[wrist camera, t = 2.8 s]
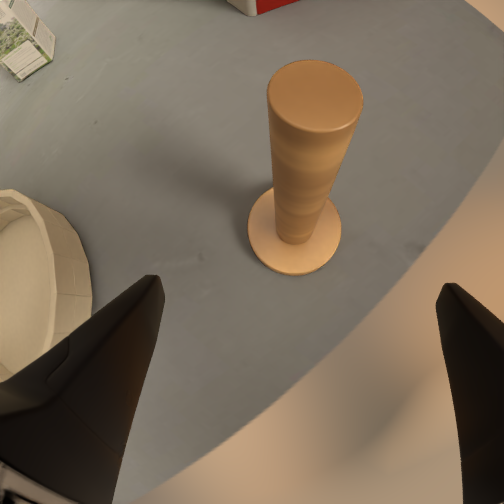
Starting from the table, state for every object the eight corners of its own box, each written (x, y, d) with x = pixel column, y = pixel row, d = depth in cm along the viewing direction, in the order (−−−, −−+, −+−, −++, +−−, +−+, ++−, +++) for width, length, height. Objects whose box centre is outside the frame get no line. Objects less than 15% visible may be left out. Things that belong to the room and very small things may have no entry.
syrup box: (56, 37, 28) (5, -31, 14) (53, 61, 27) (-9, -11, 13) (24, 58, 29) (-31, -1, 14) (19, 85, 27) (-46, 23, 13)
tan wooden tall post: (354, 245, 21) (469, 140, 6) (278, 293, 21) (276, 261, 6) (306, 173, 22) (333, 2, 8) (232, 216, 22) (158, 73, 7)
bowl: (130, 345, 21) (93, 353, 16) (13, 410, 21) (-23, 420, 16) (61, 172, 24) (28, 149, 19) (-33, 263, 24) (-66, 256, 19)
